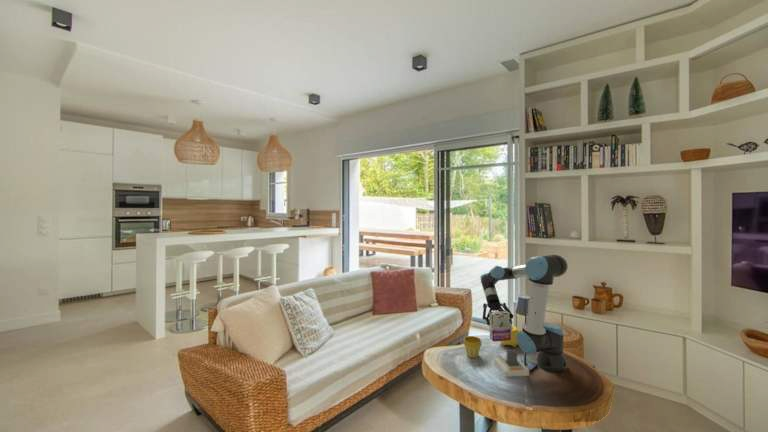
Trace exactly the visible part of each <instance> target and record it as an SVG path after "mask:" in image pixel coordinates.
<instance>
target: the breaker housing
mask: <svg viewBox="0 0 768 432" xmlns="http://www.w3.org/2000/svg"><path fill="white" fill-rule="evenodd" d="M505 361H507V356H506V357H504V356H503V357H502V355H497V357H494V364H495V365H496V367H497V368H498V369H499V371H500V372H501V374H502V375H503V377H505V378H506V377H508V378H510V377H527V376H528V377H529V376H530V370H529V368H528V367H527V366H526V365H525V364H524V363H523V362H522V361H521V360H520V359H519V358H518V357H517V362H518V364H519V366H509V365H508V364H507V363H506V362H505Z"/></svg>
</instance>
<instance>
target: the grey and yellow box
mask: <svg viewBox="0 0 768 432" xmlns="http://www.w3.org/2000/svg"><path fill="white" fill-rule="evenodd" d="M512 327H513V329H512V331H510V333H511V340H507V341H500V343H501V344H502V346H503V345H506V346H511V347H512V346H513V347H512V348H517V345H518V342H517V334H518V333H519V332H520V331H522V329H518V327H516V326H515V325H512ZM518 346H519V345H518Z"/></svg>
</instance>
